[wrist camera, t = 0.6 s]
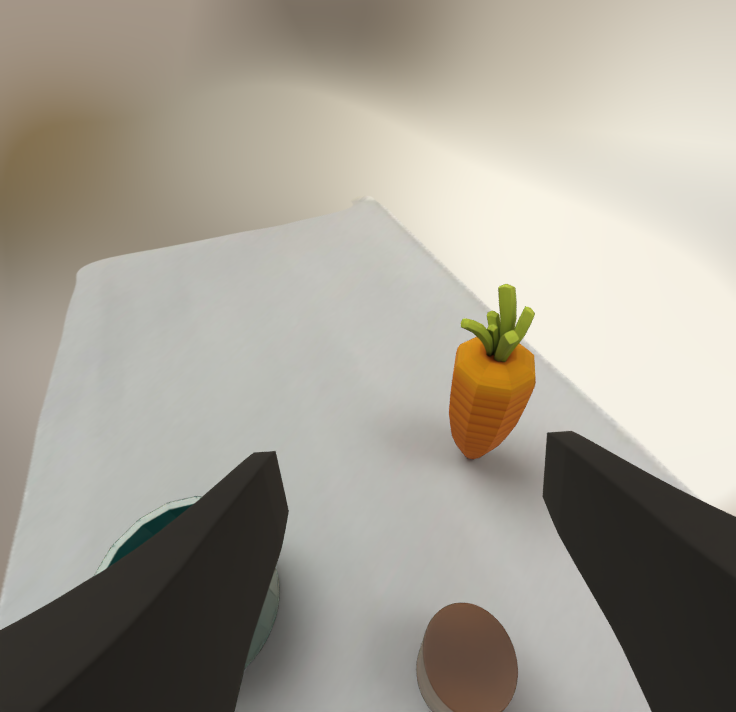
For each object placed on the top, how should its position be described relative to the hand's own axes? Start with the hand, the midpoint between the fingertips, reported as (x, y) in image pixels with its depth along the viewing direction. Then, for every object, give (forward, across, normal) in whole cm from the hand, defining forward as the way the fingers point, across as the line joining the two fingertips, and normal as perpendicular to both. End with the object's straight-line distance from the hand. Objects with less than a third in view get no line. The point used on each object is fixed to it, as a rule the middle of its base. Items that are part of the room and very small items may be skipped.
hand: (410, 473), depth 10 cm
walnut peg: (+5, -2, +17) cm, 18 cm away
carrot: (+17, -5, +12) cm, 22 cm away
